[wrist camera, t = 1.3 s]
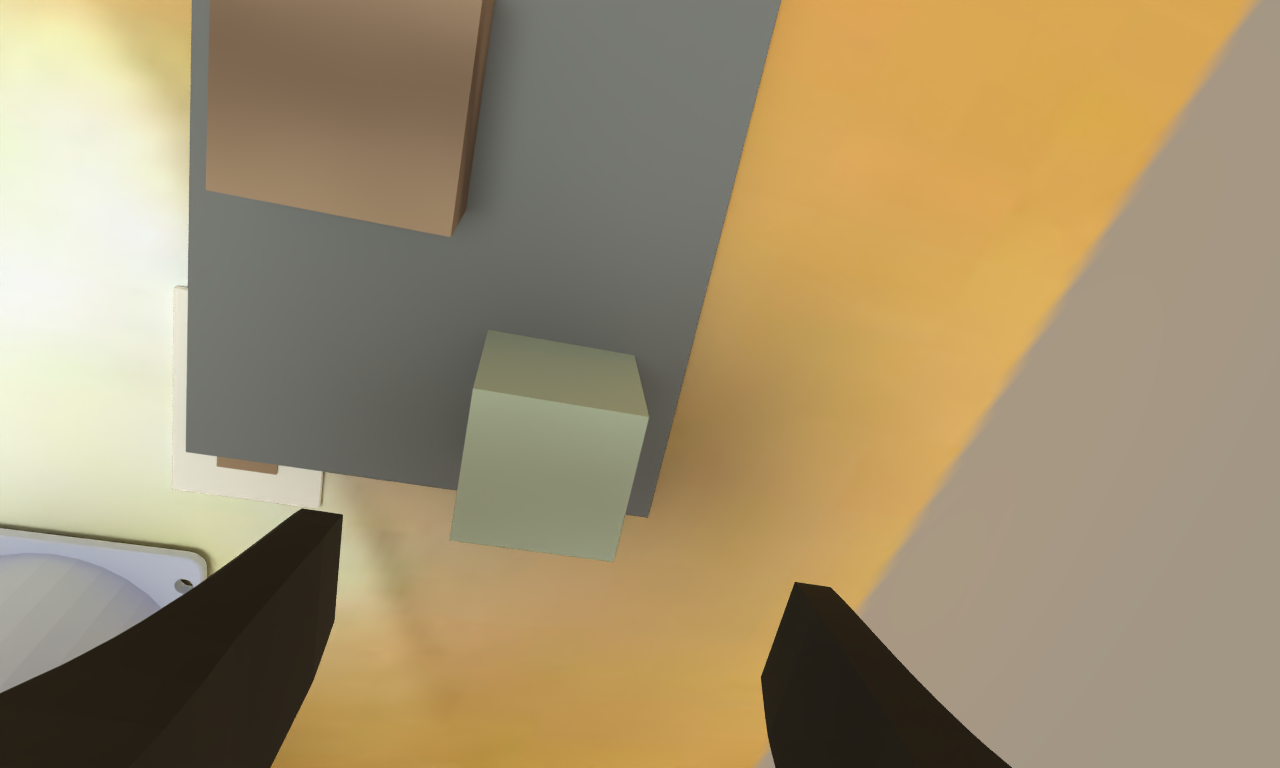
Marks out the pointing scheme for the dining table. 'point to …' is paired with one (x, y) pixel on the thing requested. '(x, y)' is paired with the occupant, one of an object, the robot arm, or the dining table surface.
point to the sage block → (550, 448)
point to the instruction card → (226, 472)
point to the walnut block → (348, 105)
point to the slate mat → (482, 247)
